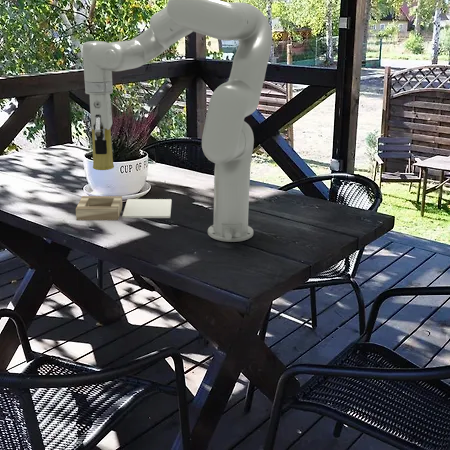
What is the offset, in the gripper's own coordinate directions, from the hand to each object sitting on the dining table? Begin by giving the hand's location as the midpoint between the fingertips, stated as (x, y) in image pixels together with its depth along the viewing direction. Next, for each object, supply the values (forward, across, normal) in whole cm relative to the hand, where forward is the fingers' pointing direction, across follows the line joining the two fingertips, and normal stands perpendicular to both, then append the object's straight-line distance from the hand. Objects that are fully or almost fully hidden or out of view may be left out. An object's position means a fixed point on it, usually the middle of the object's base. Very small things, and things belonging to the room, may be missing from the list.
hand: (102, 150), depth 173 cm
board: (+19, +4, -12) cm, 23 cm away
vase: (+5, 0, 0) cm, 5 cm away
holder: (+19, 0, +2) cm, 19 cm away
